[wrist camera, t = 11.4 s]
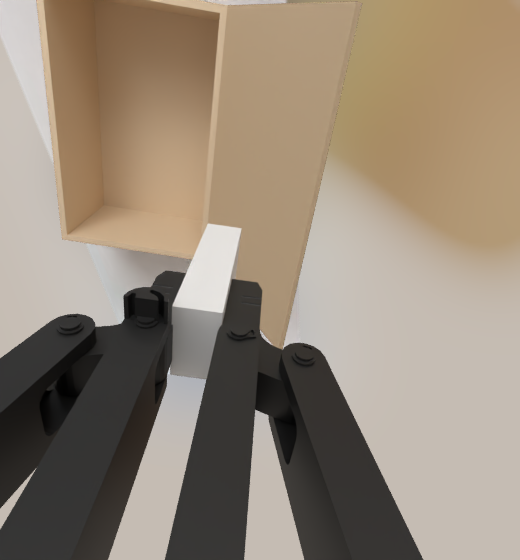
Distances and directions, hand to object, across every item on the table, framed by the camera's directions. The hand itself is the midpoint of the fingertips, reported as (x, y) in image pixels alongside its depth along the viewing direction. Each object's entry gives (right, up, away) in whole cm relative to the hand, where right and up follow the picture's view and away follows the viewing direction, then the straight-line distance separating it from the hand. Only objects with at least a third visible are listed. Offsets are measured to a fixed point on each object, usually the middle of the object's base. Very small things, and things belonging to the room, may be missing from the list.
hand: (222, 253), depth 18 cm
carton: (-10, +18, +30) cm, 36 cm away
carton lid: (+1, +7, +15) cm, 16 cm away
